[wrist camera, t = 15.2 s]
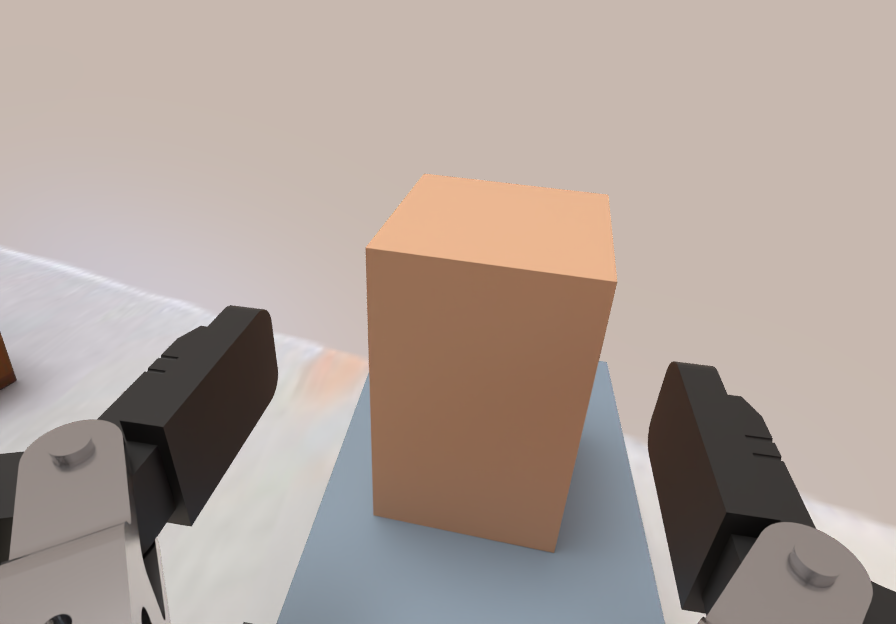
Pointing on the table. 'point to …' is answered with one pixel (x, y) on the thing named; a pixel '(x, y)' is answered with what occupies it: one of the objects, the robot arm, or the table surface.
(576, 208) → the block
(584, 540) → the tower top
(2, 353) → the food container
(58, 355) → the table surface
